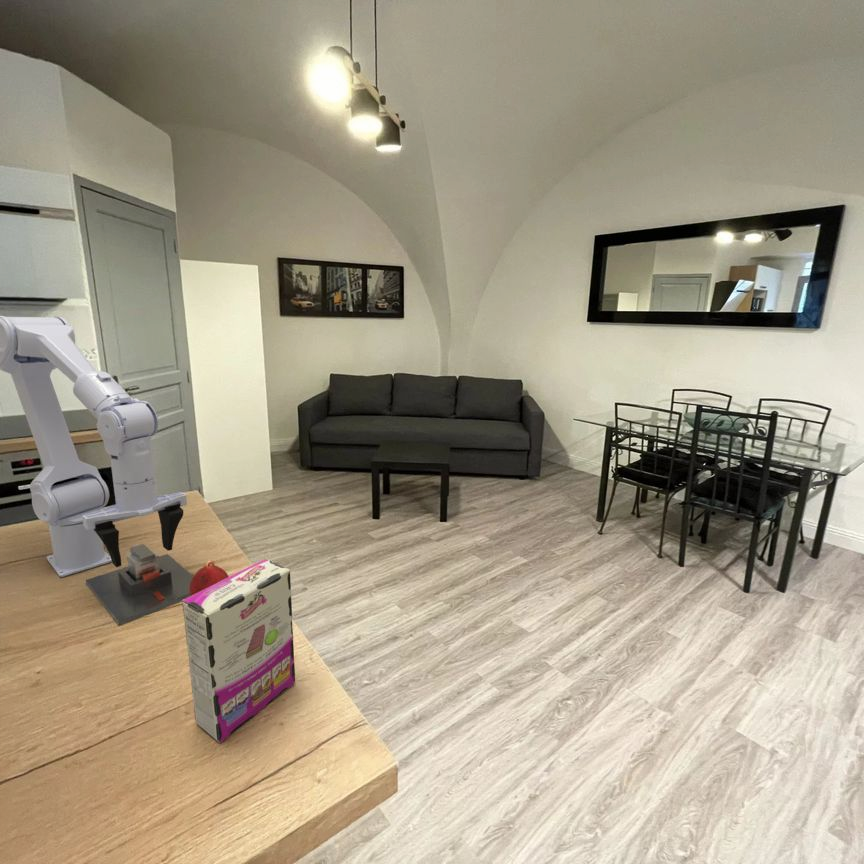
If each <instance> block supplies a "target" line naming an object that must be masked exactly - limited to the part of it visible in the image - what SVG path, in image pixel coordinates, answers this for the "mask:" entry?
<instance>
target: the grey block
mask: <svg viewBox="0 0 864 864" xmlns="http://www.w3.org/2000/svg"><path fill="white" fill-rule="evenodd" d="M129 551H130V554H127V555H126V560H127V567H128V570H129V576H130V577H131V578H132V579H133V580H134V581H138V580H141V579H142V575H144V574H147V573H150V572H153V571H156V570H158V571H159V572H160V562H159V556H160V555H159V554H158V553H157V552H156V551H155V550H153V549H152V548H151V547H150V548H148V547H147V546H146V545H145V544H144V543H141V544H138V545H135V546H131V547H129ZM160 573H161V572H160Z"/></svg>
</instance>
